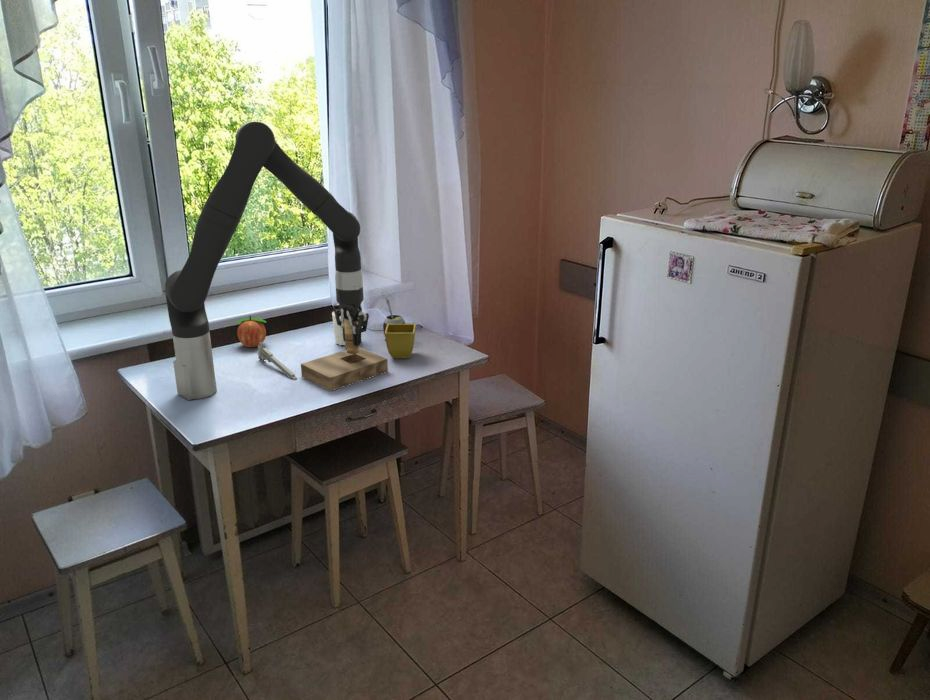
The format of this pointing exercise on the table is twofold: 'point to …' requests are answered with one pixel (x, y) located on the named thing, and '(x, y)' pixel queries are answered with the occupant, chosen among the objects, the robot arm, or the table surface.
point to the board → (343, 368)
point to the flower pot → (400, 339)
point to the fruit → (251, 331)
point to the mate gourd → (392, 318)
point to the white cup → (338, 331)
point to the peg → (350, 338)
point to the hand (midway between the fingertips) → (352, 342)
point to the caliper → (273, 360)
